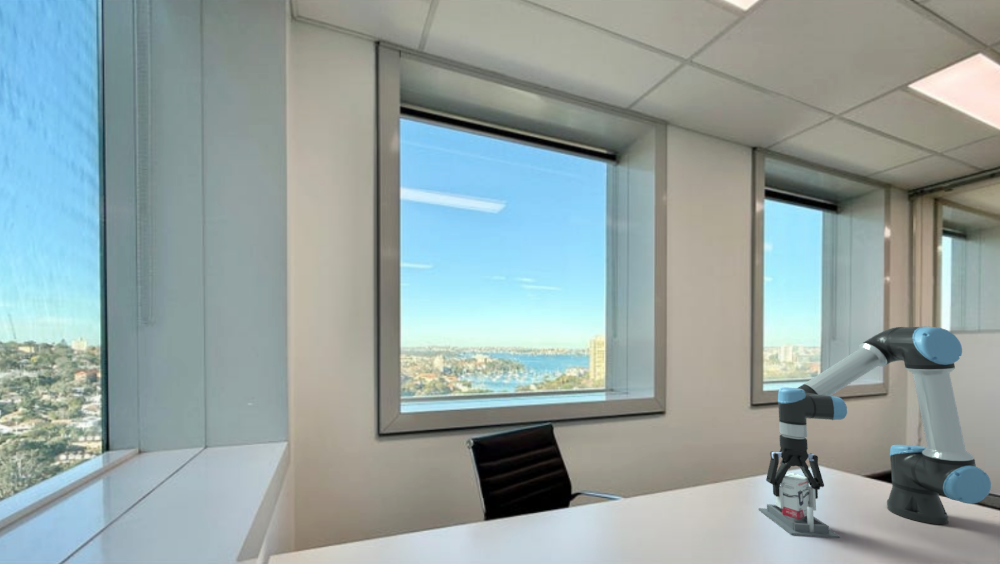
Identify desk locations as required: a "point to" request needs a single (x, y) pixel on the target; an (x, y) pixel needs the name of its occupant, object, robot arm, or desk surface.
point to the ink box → (795, 495)
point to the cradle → (799, 523)
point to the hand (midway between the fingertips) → (795, 507)
